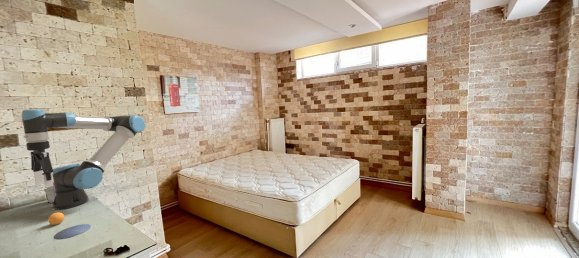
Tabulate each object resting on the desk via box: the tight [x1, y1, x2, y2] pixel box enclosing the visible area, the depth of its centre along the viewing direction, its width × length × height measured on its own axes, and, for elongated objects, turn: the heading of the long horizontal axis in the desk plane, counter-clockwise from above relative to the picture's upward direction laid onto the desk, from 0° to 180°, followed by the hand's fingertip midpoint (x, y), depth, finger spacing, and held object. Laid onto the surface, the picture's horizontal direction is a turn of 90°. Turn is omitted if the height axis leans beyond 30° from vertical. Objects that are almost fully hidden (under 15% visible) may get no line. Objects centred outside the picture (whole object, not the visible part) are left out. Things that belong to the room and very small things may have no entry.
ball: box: [47, 212, 65, 226], centre depth 111 cm, size 6×6×6 cm
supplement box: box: [45, 181, 56, 204], centre depth 141 cm, size 6×6×12 cm
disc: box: [53, 223, 92, 240], centre depth 103 cm, size 12×12×1 cm
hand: (44, 185), depth 114 cm, fingers open, 11 cm apart
